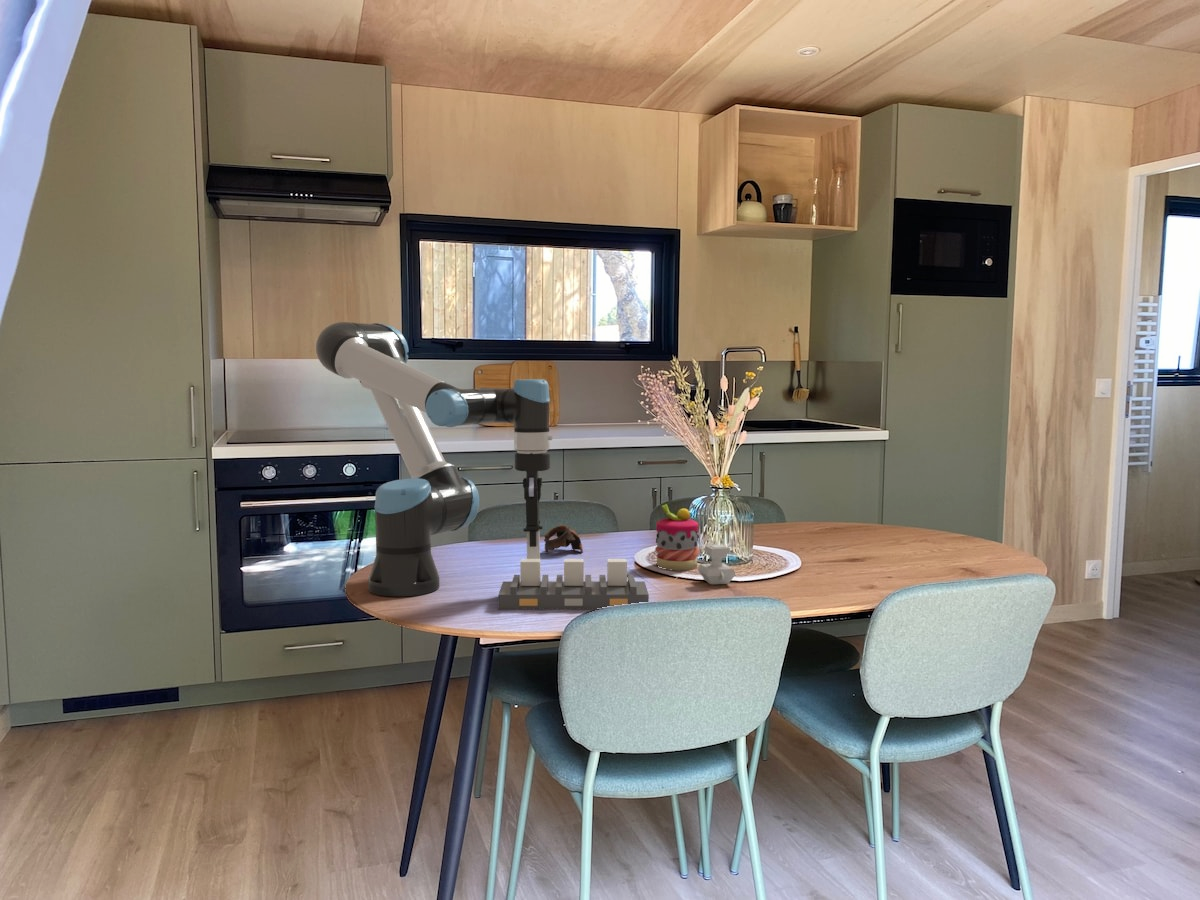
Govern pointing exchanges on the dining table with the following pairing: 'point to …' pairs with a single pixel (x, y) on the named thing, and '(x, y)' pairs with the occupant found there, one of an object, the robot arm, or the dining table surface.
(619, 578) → the tab right
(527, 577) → the tab left
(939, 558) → the dining table surface
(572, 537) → the brown broken ring
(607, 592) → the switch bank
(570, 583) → the tab middle
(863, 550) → the dining table surface
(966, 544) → the dining table surface
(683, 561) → the cake
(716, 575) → the grey angular blocky piece
